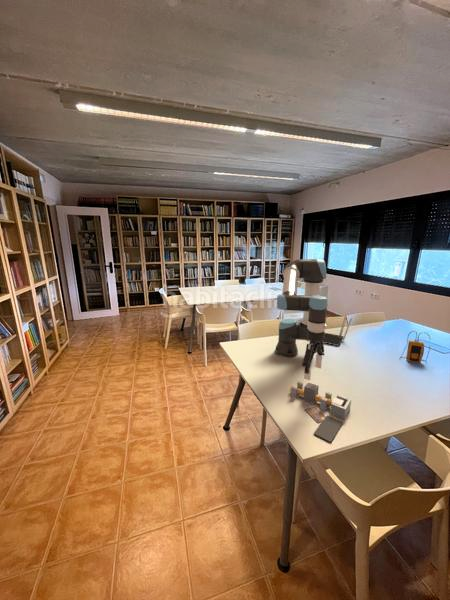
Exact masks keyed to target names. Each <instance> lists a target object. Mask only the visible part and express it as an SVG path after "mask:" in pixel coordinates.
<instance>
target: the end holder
mask: <svg viewBox="0 0 450 600" xmlns="http://www.w3.org/2000/svg"><path fill="white" fill-rule="evenodd" d="M336 398H338V399H341V400H344V407H342V406H340V405H337V404H335V403H331V406H330V413H329V414H330V415H332V416H335V417H337V418H339V419H341V420H345V419H346V417H347V416H348V414H349V412H350V410H351V404H352V399H351V398H349V397H345V396H343V395H340V394H337V395H336Z"/></svg>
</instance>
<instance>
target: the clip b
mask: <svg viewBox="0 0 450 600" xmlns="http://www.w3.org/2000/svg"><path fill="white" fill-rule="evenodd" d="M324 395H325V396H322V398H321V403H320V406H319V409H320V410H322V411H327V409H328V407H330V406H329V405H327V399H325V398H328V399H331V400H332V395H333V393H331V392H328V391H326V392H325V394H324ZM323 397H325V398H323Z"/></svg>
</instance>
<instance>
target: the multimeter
mask: <svg viewBox="0 0 450 600" xmlns="http://www.w3.org/2000/svg"><path fill="white" fill-rule="evenodd" d="M413 332H414V333H416V337H415V340H409V338H407V340H406V341H407V342H406V344H407V345H406V346H405V347H404V349H403V351H402V354H401V356H400V357H399V359H401V357H402V358H403V355H404V353H405V350H407V351H406V356H404V357H405V360H406V361H407V362H413V363H419V364H421V363H422V361H424V362H426V361H427V360H428V356H429V353H430V349H431V347H428V348H429V349H428V353H427V356H426V359H425V360H424V359H423V356H424V353H425V352H424V351H425V343H424V342H422V341H419V339H420V338H419V336H420V335H421V334H422V332H421V333H419V334H418V332H417V331H415V330H413V331H410V332H409V333H408V335H407V337H409V335H410V334H411V333H413ZM417 335H418V336H417ZM425 335H428V332H425ZM428 338H429V339H431V337H430V335H428ZM406 348H407V349H406Z"/></svg>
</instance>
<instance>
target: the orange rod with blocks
mask: <svg viewBox="0 0 450 600" xmlns="http://www.w3.org/2000/svg"><path fill="white" fill-rule="evenodd" d="M292 387H293V385H292V386H290V390H289V391H290V393H292ZM319 387H320V385H319V384H314V383H311V382H307V383H306V384H305V385H303V390H302V389H299V388H298V393H297V394H299V396H302V397H303V401H305V402H307V403H310V404H313V405H314V404H316V403H317V402H318V403H320V404H321V398H322V397H323V398H325V396H321V395H319ZM325 399H327V405H329V406H328V407H331V403H335V404H337V405H340V406H342V407H344V400H341V399H338V398H337V397H334V398H333V399H332V398H331V399H328V398H325Z"/></svg>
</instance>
